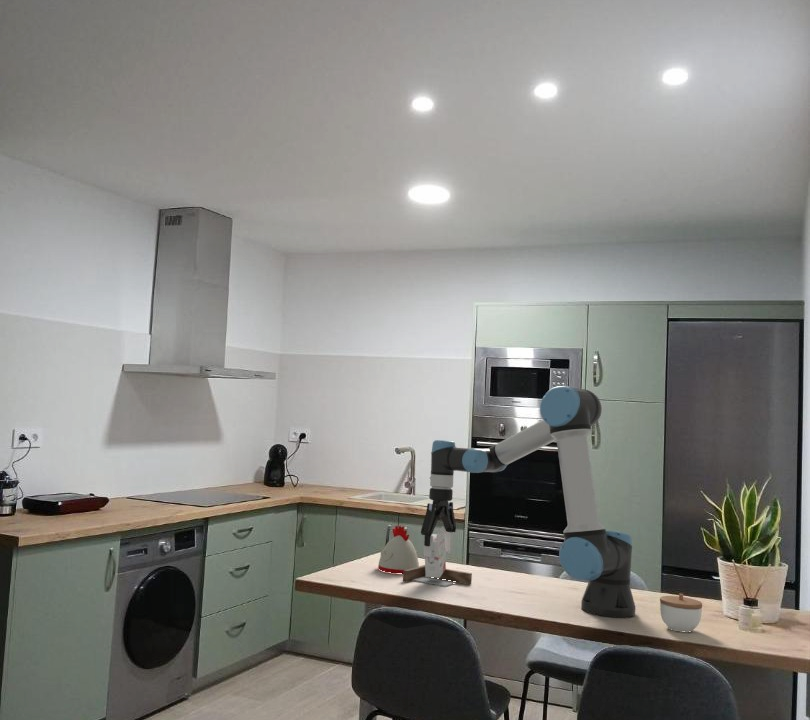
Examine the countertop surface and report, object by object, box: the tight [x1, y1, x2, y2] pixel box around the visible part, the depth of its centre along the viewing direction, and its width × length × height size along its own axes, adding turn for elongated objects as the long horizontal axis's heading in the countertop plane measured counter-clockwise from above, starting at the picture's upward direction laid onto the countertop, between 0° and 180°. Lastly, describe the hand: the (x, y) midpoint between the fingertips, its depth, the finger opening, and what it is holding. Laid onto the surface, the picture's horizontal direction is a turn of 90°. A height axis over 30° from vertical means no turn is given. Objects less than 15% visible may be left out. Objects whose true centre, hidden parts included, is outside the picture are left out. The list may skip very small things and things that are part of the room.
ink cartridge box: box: [424, 525, 447, 578], centre depth 245 cm, size 9×5×15 cm, turn 163°
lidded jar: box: [659, 593, 703, 632], centre depth 204 cm, size 11×11×9 cm
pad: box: [412, 576, 458, 587], centre depth 244 cm, size 12×8×1 cm, turn 60°
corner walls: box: [402, 564, 473, 585], centre depth 243 cm, size 18×14×4 cm
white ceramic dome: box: [377, 525, 420, 574], centre depth 260 cm, size 14×14×15 cm
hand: (437, 554), depth 245 cm, fingers open, 13 cm apart
